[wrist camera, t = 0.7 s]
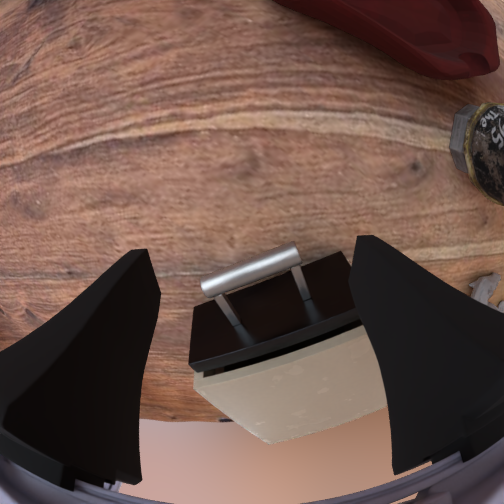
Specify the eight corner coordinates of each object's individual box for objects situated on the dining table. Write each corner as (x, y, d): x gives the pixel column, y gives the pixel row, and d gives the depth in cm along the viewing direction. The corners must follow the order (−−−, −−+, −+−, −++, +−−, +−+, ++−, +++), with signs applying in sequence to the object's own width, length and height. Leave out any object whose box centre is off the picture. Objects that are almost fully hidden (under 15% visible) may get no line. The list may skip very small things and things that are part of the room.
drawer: (165, 267, 19) (149, 324, 15) (327, 200, 18) (363, 243, 13) (258, 386, 29) (264, 430, 24) (361, 351, 27) (379, 393, 23)
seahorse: (523, 285, 27) (500, 273, 20) (499, 349, 29) (463, 369, 22) (501, 277, 32) (467, 260, 25) (479, 338, 34) (433, 350, 26)
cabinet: (198, 314, 23) (193, 388, 17) (347, 258, 22) (388, 323, 15) (261, 391, 31) (268, 444, 25) (365, 355, 30) (386, 406, 23)
